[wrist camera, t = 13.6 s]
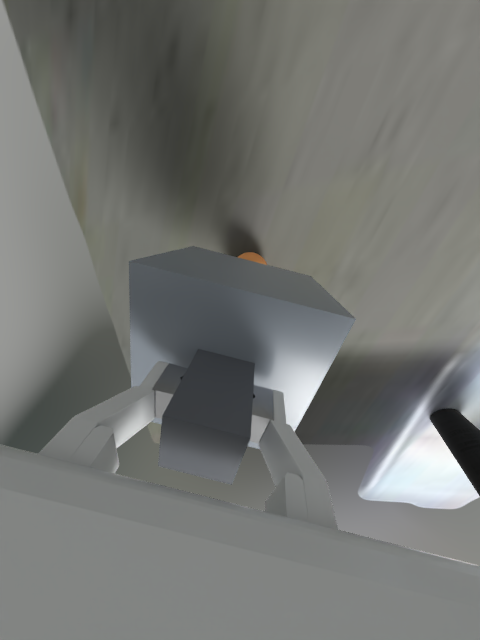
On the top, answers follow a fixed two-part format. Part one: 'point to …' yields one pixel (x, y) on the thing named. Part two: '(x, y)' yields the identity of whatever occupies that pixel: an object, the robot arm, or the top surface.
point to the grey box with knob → (227, 348)
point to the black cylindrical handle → (460, 441)
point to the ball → (252, 257)
